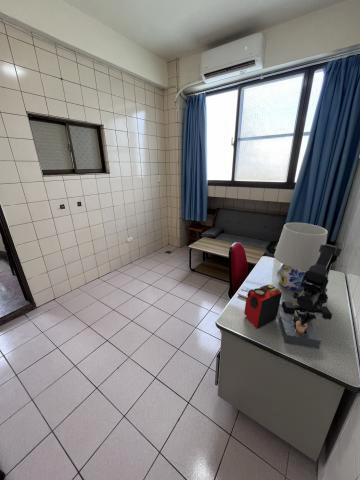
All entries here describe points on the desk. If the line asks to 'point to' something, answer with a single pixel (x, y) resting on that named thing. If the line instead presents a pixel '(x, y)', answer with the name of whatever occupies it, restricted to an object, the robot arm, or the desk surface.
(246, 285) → the desk surface
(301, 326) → the knob
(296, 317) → the black and brass dome
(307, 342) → the panel
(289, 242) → the table lamp
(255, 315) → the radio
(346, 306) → the desk surface
